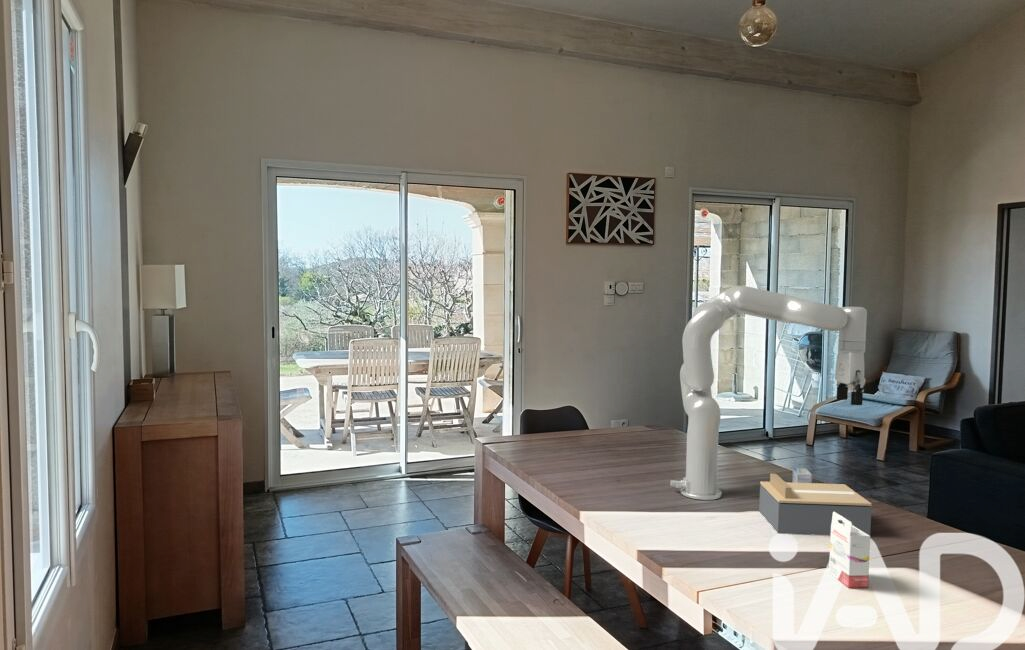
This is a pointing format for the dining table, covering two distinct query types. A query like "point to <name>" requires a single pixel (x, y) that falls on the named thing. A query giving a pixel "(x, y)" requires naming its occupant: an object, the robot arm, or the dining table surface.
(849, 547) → the ink cartridge box
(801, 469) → the medicine box
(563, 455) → the dining table surface
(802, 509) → the box
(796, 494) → the lid
